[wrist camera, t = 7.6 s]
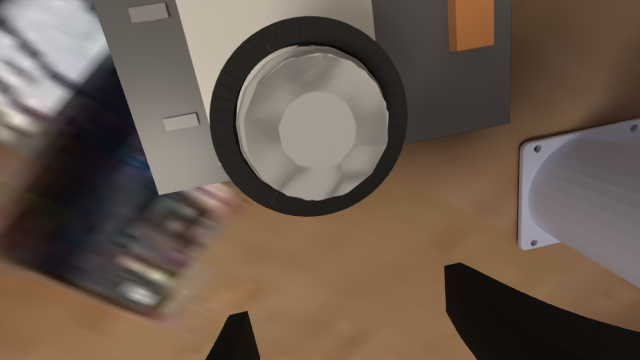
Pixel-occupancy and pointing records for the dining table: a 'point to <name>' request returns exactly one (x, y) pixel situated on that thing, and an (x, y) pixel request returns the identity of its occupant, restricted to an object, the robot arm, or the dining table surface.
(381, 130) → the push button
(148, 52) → the control panel
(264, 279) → the dining table surface
